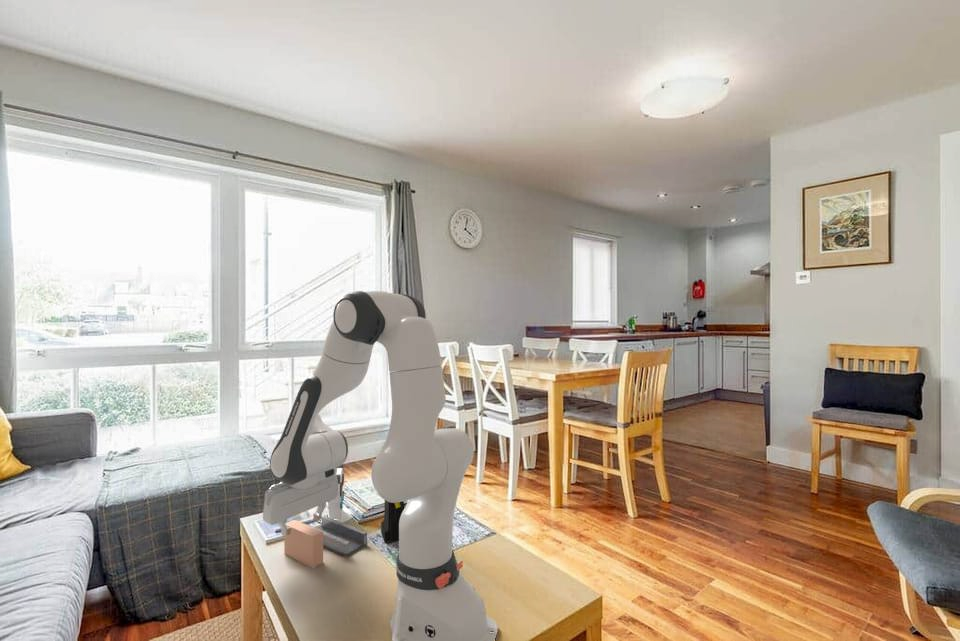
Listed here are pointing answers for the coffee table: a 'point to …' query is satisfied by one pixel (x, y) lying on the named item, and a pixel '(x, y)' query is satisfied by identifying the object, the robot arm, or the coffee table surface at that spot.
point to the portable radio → (391, 521)
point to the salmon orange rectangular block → (304, 543)
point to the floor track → (341, 536)
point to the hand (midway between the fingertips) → (302, 527)
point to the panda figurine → (339, 501)
